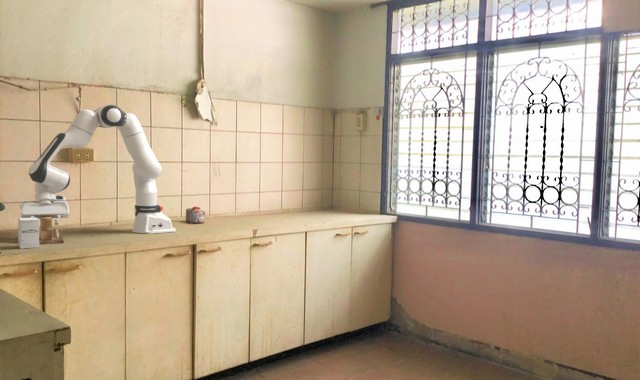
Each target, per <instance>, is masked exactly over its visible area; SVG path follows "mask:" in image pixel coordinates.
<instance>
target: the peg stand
mask: <svg viewBox="0 0 640 380" xmlns="http://www.w3.org/2000/svg"><path fill="white" fill-rule="evenodd" d="M64 243H65V242H64V237H63V235H60V232H59V229H58V228H54V229H53V235H52V240H41V236H39V245H51V244H52V245H54V244H55V245H56V244H64Z"/></svg>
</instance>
